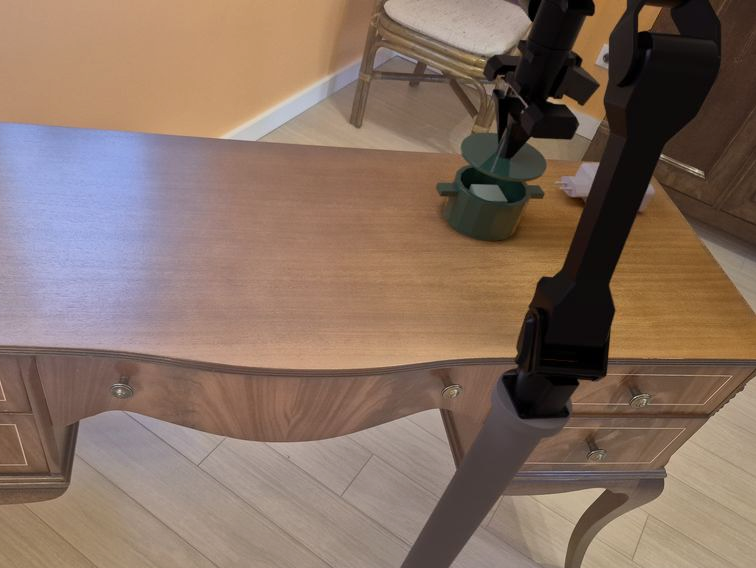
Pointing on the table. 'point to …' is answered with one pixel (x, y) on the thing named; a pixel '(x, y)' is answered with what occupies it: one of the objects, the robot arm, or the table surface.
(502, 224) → the pot
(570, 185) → the charger
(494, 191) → the block
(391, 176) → the table surface
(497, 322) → the table surface
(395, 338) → the table surface
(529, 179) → the lid
